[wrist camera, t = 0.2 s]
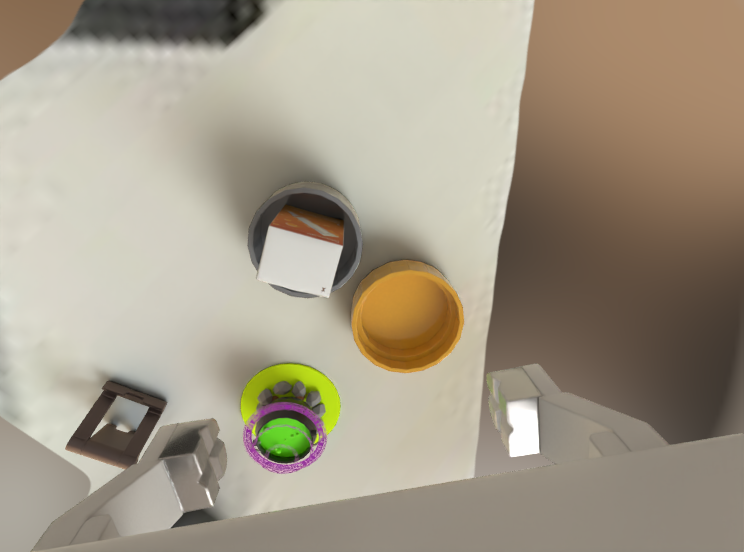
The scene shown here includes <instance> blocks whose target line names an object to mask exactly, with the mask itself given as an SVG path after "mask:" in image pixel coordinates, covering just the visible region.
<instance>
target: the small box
mask: <svg viewBox="0 0 744 552" xmlns="http://www.w3.org/2000/svg"><path fill="white" fill-rule="evenodd" d="M343 241H344V220H340V219H336V218H332V217H328V216H324V215H321V214H317V213H313V212H310V211H306V210H303V209H300V208H296V207H293V206H289V205H284V207H283V208H282V209H281V210H280V212H279V213H278V214H277V216H276V217H275V218H274V220H273V221H272V223H271V224H270V225H269V227H268V231H267V235H266V240H265V244H264V248H263V252H262V256H261V260H260V264H259V268H258V272H257V276H256V279H257V280H259V281H262V282H266V283H270V284H273V285H277V286H281V287H285V288H288V289H291V290H295V291H299V292H305V293H309V294H313V295H318V296H322V297H326V298H329V296H330V292H331V288H332V285H333V281H334V277H335V274H336V270H337V266H338V263H339V259H340V255H341V252H342V248H343Z"/></svg>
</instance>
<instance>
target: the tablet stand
mask: <svg viewBox="0 0 744 552" xmlns="http://www.w3.org/2000/svg"><path fill="white" fill-rule="evenodd" d="M102 389H103V390H104V391H103V392H102V394H101V395H100V397H99V398H98V400H97V401H96V403H95V404H94V405H93V407H92V408H91V410H90V411H89V413H88V414H87V415H86V417H85V418H84V420H83V421H82V423H81V424H80V426H79V427H78V428H77V430H76V431H75V433H74V434H73V436H72V437H71V439H70V440H69V442H68V443H67V445H66V448H65V450H68V451H71V452H74V453H77V454H80V455H83V456H86V457H89V458H92V459H95V460H98V461H101V462H104V463H107V464H110V465H113V466H117V467H119V468H122V469H125V470H126V469H127V468H129V467H130V466H131V465H133V464H137V462H138V458H139V455H140V453H141V451H142V449H143V447H144V445H145V443H146V442H147V440H148V438H149V436H150V434H151V432H152V431H153V429H154V427H155V425H156V423H157V422H158V420H159V418H160V416H161V414H162V413H163V411H164V409H165V407H166V405H167V402H166V401H163V400H160V399H157V398H155V397H152V396H149V395H146V394H144V393H141V392H138V391H135V390H133V389H130V388H127V387H125V386H122V385H119V384H117V383H114V382H111V381H107V382H106V384H105V385H104V386H103V388H102ZM117 396H121V397H123V398H126V399H129V400H132V401H134V402H137V403H140V404H143V405H145V406H148V407H149V409H148V411H147V413H146V415H145V416H144V418H143V420H142V422H141V423H140V425H139V427H138V428H137V430H136V432H133V431H129V432H127V433H126V432H123V431H120V430H117V429H116V427H117V426H115V425H113V424H109V423H108V424H106V425H105V426H104V427H103V428H102V429H100V430H99V431H98V432H97V433H96V434H95V435H93V436H92V437H91V435H92V433H93V432H94V430H95V429H96V427H97V426H98V424H99V423H100V421H101V420H102V418H103V417H104V415H105V414H106V412H107V411H108V409H109V408H110V406H111V405H112V403H113V402H114V400H115V399H116V397H117ZM90 437H91V438H90Z"/></svg>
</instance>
